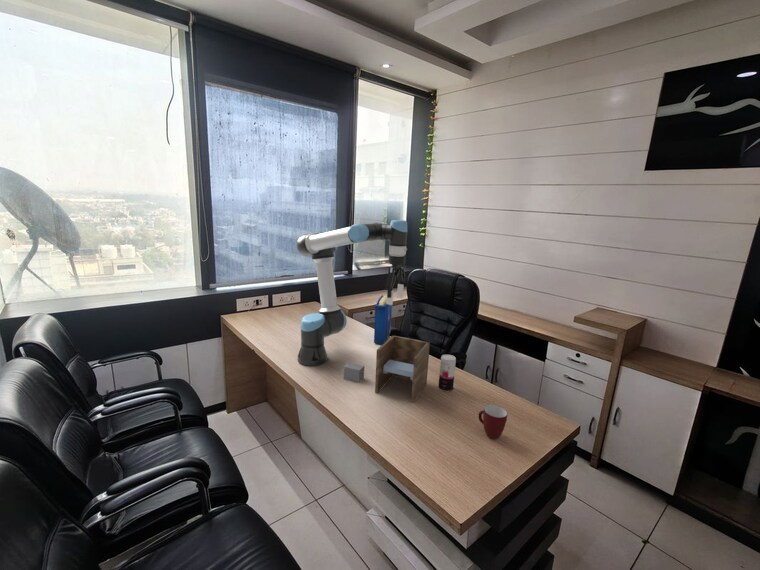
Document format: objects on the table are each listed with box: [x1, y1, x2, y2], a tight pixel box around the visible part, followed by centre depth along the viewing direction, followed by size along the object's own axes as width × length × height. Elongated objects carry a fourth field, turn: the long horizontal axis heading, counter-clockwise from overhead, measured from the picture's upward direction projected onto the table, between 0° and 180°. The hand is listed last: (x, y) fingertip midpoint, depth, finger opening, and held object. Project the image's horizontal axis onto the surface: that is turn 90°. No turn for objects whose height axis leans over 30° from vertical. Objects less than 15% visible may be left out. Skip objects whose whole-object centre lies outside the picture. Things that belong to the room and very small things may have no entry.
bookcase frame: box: [374, 335, 431, 404], centre depth 158 cm, size 18×19×20 cm
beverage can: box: [438, 354, 457, 392], centre depth 160 cm, size 6×7×15 cm
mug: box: [477, 404, 508, 440], centre depth 129 cm, size 10×8×10 cm
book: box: [373, 294, 393, 345], centre depth 215 cm, size 22×7×25 cm, turn 168°
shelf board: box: [383, 360, 414, 378], centre depth 156 cm, size 14×7×2 cm, turn 67°
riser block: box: [343, 362, 365, 383], centre depth 166 cm, size 8×5×6 cm, turn 67°
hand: (394, 301), depth 164 cm, fingers open, 13 cm apart
